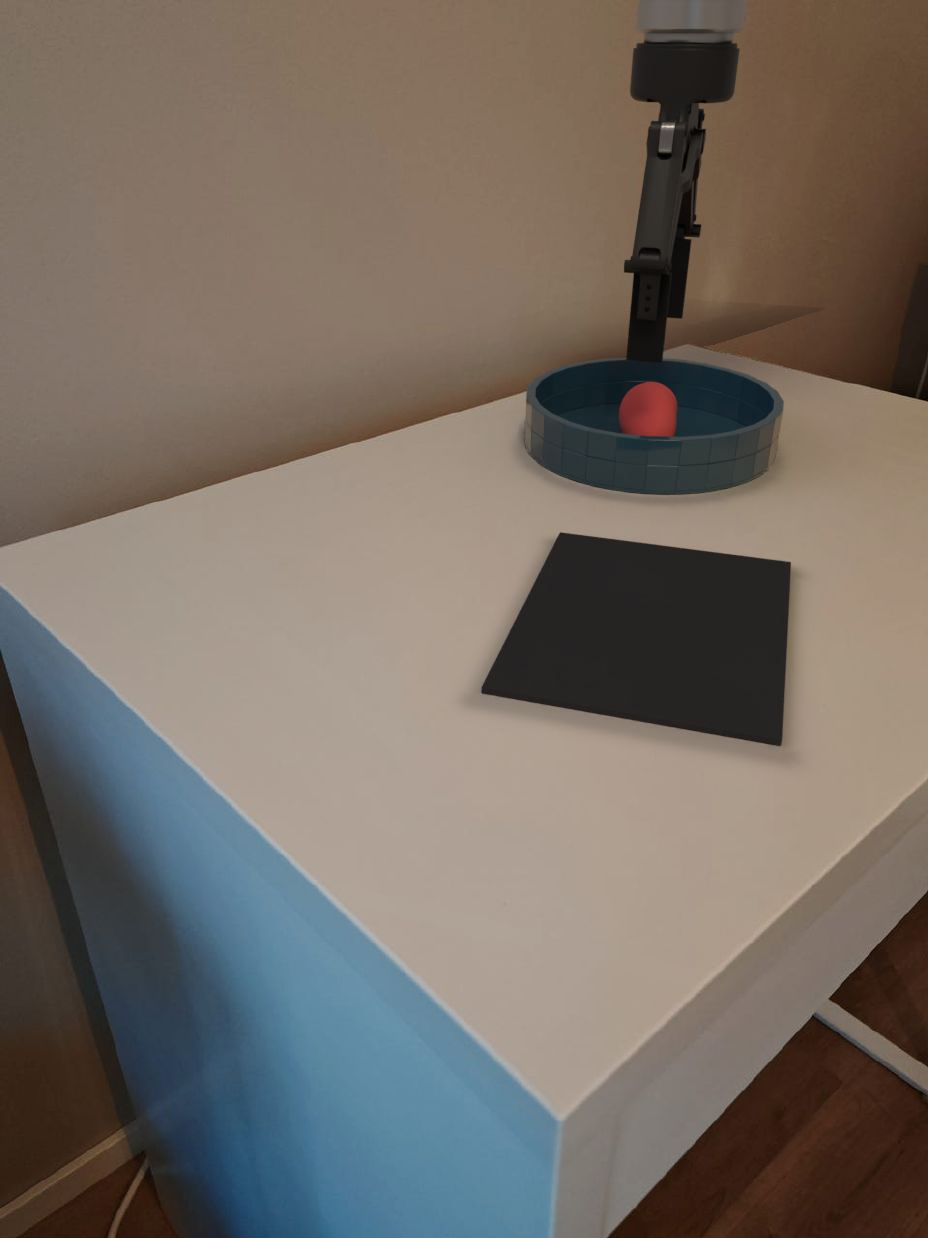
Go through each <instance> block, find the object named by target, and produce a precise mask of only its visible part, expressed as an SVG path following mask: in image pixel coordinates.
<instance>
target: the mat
mask: <svg viewBox="0 0 928 1238" xmlns="http://www.w3.org/2000/svg"><path fill="white" fill-rule="evenodd" d="M791 569H792V562H791V561H786V560H779V559H771V558H763V557H755V556H749V555H748V556H746V555H740V554H733V553H723V552H715V551H709V550H708V551H707V550H700V549H693V548H685V547H678V546H677V547H676V546H669V545H662V544H655V543H646V542H641V541H640V542H638V541H631V540H623V539H615V538H610V537H609V538H608V537H600V536H593V535H586V534H585V535H583V534H577V533H570V532H561V531H560V532H559V533H558V535H557V537H556V539H555V541H554V543H553V544H552V546H551V549H550V550H549V553H548V555H547V557H546V559H545V561H544V563H543V565H542V567H541V568H540V571H539V573H538V574H537V577H536V579H535V581H534V583H533V585H532V587H531V588H530V591H529V592H528V594H527V597H526V598H525V601H524V603H523V604H522V606H521V609H520V610H519V612H518V614H517V616H516V618H515V620H514V622H513V624H512V626H511V628H510V630H509V632H508V634H507V636H506V637H505V640H504V642H503V644H502V646H501V648H500V650H499V652H498V654H497V656H496V658H495V660H494V661H493V664H492V666H491V667H490V669H489V672H488V674H487V676H486V678H485V680H484V682H483V683H482V685H481V694H487V695H493V696H498V697H503V698H509V699H515V700H520V701H526V702H532V703H538V704H544V705H549V706H554V707H559V708H565V709H571V710H572V709H573V710H577V711H583V712H587V713H593V714H600V715H606V716H610V717H611V716H612V717H615V718H617V717H618V718H623V719H629V720H633V721H639V722H645V723H651V724H656V725H662V726H667V727H673V728H679V729H683V730H684V729H685V730H689V731H697V732H701V733H702V732H703V733H708V734H713V735H719V736H724V737H730V738H735V739H742V740H747V741H752V742H757V743H764V744H769V745H774V746H775V745H776V746H782V743H783V734H784V733H783V732H784V731H783V730H784V711H785V710H784V709H785V692H786V691H785V690H786V670H787V650H788V631H789V614H790V613H789V610H790V590H791V573H792V571H791Z"/></svg>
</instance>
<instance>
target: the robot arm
mask: <svg viewBox="0 0 928 1238" xmlns="http://www.w3.org/2000/svg"><path fill="white" fill-rule="evenodd" d="M747 2H748V0H639V2H638V4H637V7H636V9H637V11H636V21H635V30H636V31H637V32H638V33H639V34H643V42H637V43H636V44H635V46H636V47H633V48H632V60H631V61H632V62H631V74H630V86H629V95H630V97H631V98H632V99H633V100H635V101H637V102H642V103H659V105H660V107H659V113H658V117H657V120H651V121H650V125H649V126H648V129H647V136H646V137H647V138H646V159H645V168H644V172H643V180H642V188H641V194H640V200H639V207H638V213H637V221H636V227H635V229H636V230H635V234H634V242H633V248H632V255H631V256H630V258H629V259H624V263H623V273H624V274H633V279H632V290H631V300H630V311H629V321H628V333H627V344H626V345H627V347H626V356H625V358H626V360H635V361H646V362H657V363H661V362H662V360H663V358H664V351H665V350H664V349H665V341H666V332H667V331H666V330H667V322H668V319H681V320H682V319H683V317H684V308H685V298H686V290H687V283H688V281H687V280H688V273H689V266H690V256H691V247H692V238H697V239H698V238H699V239H700V237H701V232H702V224H701V223H695V222H697V218H698V217H697V214H696V213H697V211H696V210H697V200H698V199H697V196H698V185H699V184H698V183H699V177H700V173H701V168H702V155H703V153H704V151H705V150H704V149H705V144H706V138H707V137H706V136H707V128H703V124H704V121H705V118H706V113H705V109H704V108H700V104H719V103H726V102H728V101H730V100H731V99H732V98H733V96H734V94H735V90H736V89H735V88H736V82H737V74H738V66H739V58H740V50H741V48H740V47H738V43H737V42H736V43H735V42H734V35H735V34H739V33H741V31H742V30H743V29H744V23H745V16H746V11H747Z"/></svg>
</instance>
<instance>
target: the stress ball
mask: <svg viewBox="0 0 928 1238" xmlns="http://www.w3.org/2000/svg"><path fill="white" fill-rule="evenodd" d="M676 415H677V401H676V398H675V396H674V394H673V392H672V391H671V390H670V389H669V388H667V387H666V386H665V385H663V384H661V383H657V382H645V383H642V384H639V385H637V386H635V387H633V388H632V389H630V390H629V391H628V392H627V394H626V395H625V397H624V398H623V400H622V403H621V406H620V410H619V422H620V426H621V430H622V432H623V434H632V435H642V436H661V437H674V435H675V431H676Z"/></svg>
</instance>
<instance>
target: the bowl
mask: <svg viewBox="0 0 928 1238" xmlns="http://www.w3.org/2000/svg"><path fill="white" fill-rule="evenodd" d="M645 382H657V383H661V384H663V385H665V386H666V387H667V388H669V389H670V390H671V391H672V392H673V394H674V396H675V398H676V401H677V415H676V431H675V435H674V437H661V436H642V435H632V434H623V432H622V430H621V426H620V422H619V410H620V406H621V403H622V400H623V398H624V397H625V395H626V394H627V392H628V391H629V390H630V389H632V388H633V387H635V386H637V385H639V384H642V383H645ZM784 404H785V401H784V399H783V398H782V396H781V395H780V393H779V391H778V390H776V389H775V388H773V387H772V386H771V385H770V384H769V383H767V382H765V381H763V380H761V379H759V378H756V377H755V376H752V375H751V374H750V375H749V374H748V373H744V372H741V371H737V370H735V369H732V368H728V367H724V366H719V365H716V364H711V363H706V362H699V361H692V360H687V359H678V358H677V359H676V358H664V357H663V360H662V362H661V363H657V362H646V361H635V360H626V357H610V358H609V357H607V358H598V359H591V360H583V361H579V362H575V363H570V364H565V365H560V366H559V367H556V368H552V369H550V370H547V371H545V372H544V373H541V374H540V375H538V376H537V377H535V378H534V379H533V380H531V382H530V384H529V385H528V386H527V387H526V395H525V430H524V443H525V447H526V451H527V452H528V454H529V456H531V457H532V459H533V460H534V461H535V462H537V463H538V464H539V465H541V466H542V467H543V468H545V469H547V470H549V471H551V472H552V473H554V474H557V475H559V476H562V477H564V478H566V479H569V480H571V481H574V482H577V483H580V484H585V485H587V486H588V485H589V486H593V487H597V488H601V489H606V490H612V491H618V492H625V493H637V494H644V495H645V494H646V495H647V494H648V495H687V494H689V495H690V494H701V493H707V492H714V491H715V492H716V491H720V490H725V489H730V488H733V487H736V486H739V485H744V484H745V483H748V482H750V481H753V480H755V479H756V478H758V477H760V476H762V475H763V474H765V473H766V472H767V471H768V470H769V469H770V468H771V466H772V465H773V464H774V462H775V459H776V454H777V449H778V443H779V437H780V431H781V426H782V419H783V414H784Z"/></svg>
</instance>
